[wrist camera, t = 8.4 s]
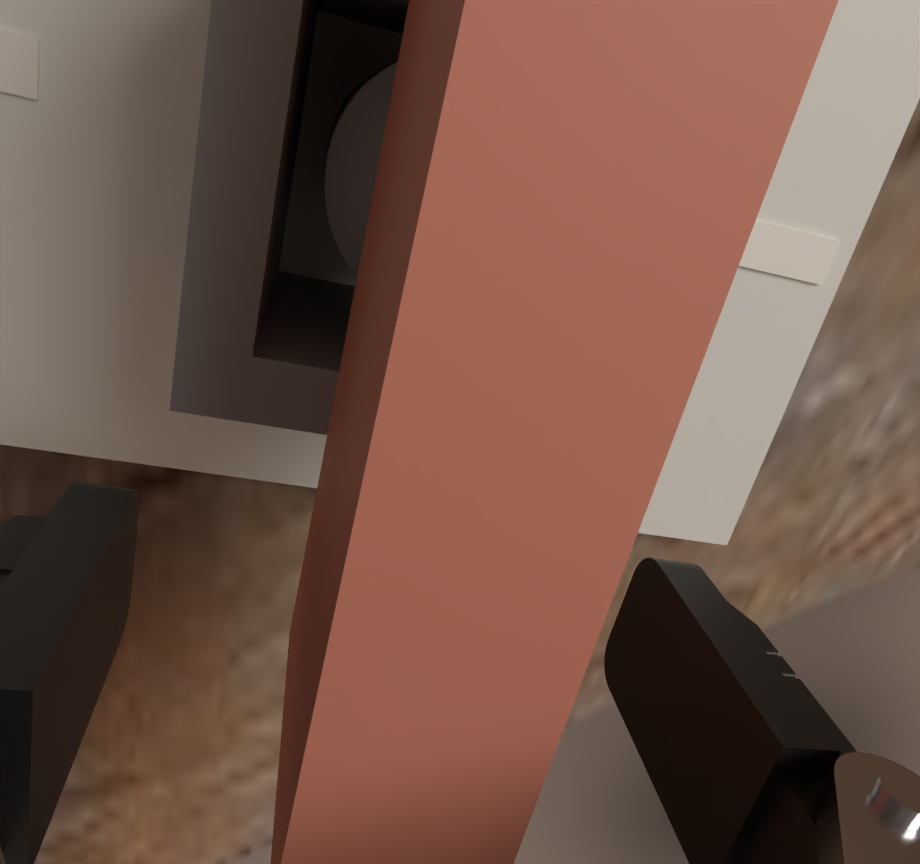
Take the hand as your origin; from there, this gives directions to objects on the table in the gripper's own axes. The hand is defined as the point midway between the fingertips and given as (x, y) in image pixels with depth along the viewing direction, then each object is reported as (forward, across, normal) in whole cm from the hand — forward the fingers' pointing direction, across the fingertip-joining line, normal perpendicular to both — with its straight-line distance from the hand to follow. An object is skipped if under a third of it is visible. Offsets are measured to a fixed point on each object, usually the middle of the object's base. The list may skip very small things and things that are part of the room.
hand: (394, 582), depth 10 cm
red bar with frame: (+7, 0, -5) cm, 9 cm away
